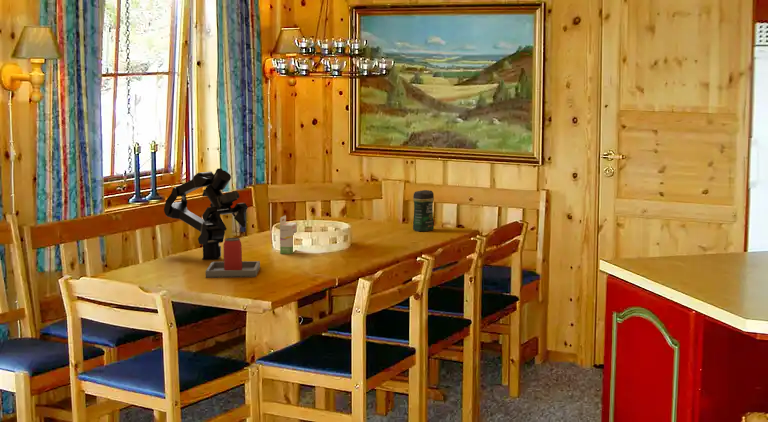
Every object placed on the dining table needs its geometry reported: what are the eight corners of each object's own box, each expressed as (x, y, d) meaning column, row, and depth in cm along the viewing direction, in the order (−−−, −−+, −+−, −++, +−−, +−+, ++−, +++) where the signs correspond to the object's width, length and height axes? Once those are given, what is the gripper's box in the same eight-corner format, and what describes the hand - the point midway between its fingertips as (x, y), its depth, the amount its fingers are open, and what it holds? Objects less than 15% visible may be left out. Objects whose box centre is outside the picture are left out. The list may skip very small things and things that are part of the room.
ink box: (291, 254, 422) (290, 218, 420) (279, 253, 423) (279, 217, 421) (297, 250, 431) (296, 215, 429) (286, 250, 432) (285, 214, 430)
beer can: (222, 272, 382) (221, 240, 380) (226, 269, 388) (225, 237, 387) (240, 272, 381) (239, 240, 380) (244, 269, 388) (243, 237, 386)
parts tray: (205, 277, 376) (205, 271, 375) (212, 268, 393) (211, 261, 393) (255, 277, 376) (255, 270, 376) (260, 267, 394) (259, 261, 394)
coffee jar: (423, 232, 474) (423, 191, 471) (410, 230, 479) (410, 190, 477) (436, 229, 481) (436, 189, 479) (423, 228, 486) (423, 188, 484)
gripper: (205, 186, 396) (224, 217, 390) (244, 182, 410) (263, 212, 404) (194, 205, 403) (212, 236, 397) (232, 200, 416) (250, 230, 410)
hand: (235, 228), depth 402 cm, fingers open, 9 cm apart
